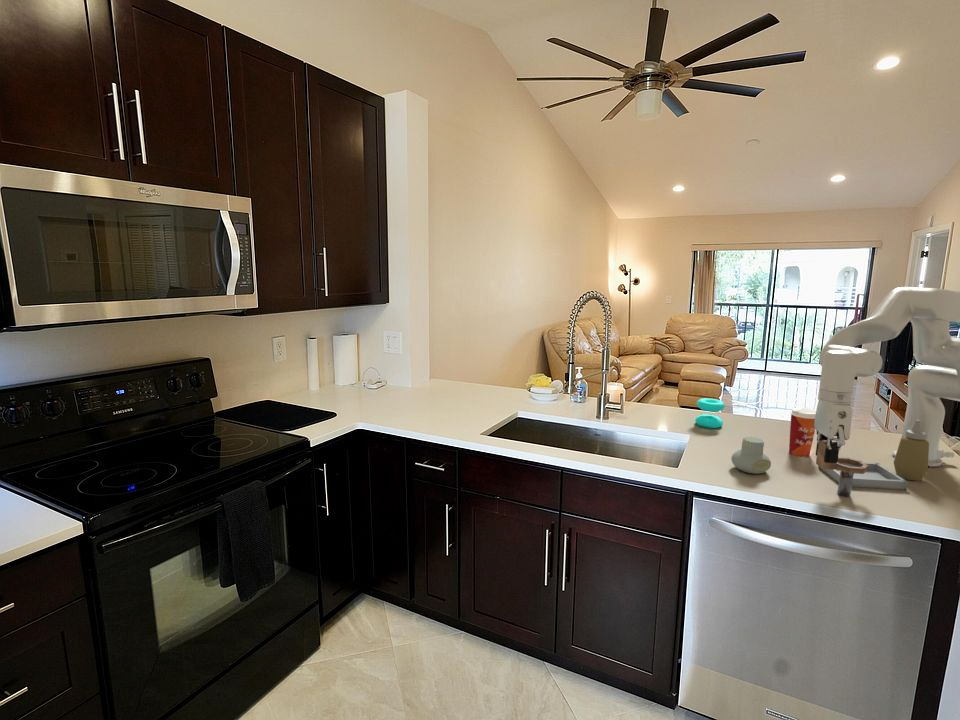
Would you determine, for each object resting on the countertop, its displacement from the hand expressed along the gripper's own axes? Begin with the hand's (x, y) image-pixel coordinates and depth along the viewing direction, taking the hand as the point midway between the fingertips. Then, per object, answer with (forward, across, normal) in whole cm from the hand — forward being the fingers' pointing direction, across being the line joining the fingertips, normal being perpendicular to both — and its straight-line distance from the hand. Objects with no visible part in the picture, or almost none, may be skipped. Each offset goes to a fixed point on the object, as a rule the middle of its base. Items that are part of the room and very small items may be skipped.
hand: (826, 458), depth 144 cm
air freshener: (+10, +14, +14) cm, 22 cm away
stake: (+10, 0, -6) cm, 12 cm away
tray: (+10, +13, -17) cm, 23 cm away
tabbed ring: (+2, 0, -4) cm, 5 cm away
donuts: (+11, +59, +14) cm, 61 cm away
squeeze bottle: (+11, +16, -32) cm, 37 cm away
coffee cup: (+11, +32, -8) cm, 34 cm away
